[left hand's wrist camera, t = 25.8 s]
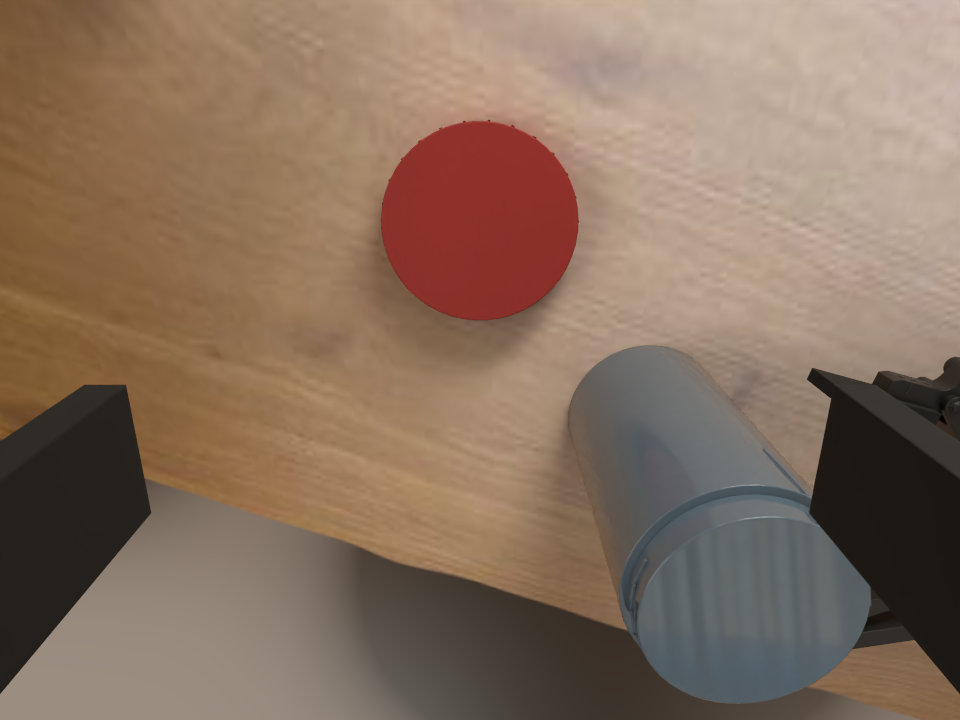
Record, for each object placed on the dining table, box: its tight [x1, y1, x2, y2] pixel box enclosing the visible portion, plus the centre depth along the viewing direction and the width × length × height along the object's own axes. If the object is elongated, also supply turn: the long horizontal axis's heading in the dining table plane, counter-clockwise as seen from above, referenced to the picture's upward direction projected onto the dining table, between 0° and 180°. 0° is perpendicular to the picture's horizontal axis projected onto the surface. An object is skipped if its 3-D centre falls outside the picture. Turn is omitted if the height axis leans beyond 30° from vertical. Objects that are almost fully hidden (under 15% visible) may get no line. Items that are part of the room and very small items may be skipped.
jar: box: [569, 346, 871, 704], centre depth 36 cm, size 10×10×19 cm
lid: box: [381, 120, 579, 320], centre depth 40 cm, size 12×12×2 cm
